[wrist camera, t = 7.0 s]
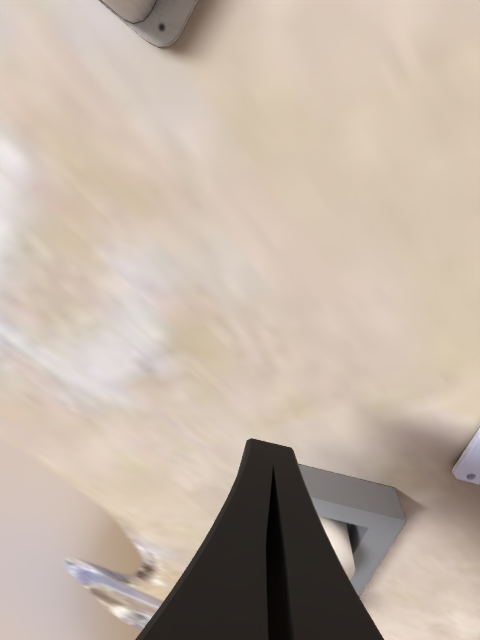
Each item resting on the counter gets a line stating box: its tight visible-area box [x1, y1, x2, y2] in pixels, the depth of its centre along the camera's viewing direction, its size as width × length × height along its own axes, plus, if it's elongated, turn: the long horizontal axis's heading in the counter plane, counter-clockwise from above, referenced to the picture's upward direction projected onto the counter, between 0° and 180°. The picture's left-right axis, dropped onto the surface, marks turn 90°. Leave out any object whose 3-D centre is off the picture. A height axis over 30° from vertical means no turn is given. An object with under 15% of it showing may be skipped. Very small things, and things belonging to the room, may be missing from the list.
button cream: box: [319, 516, 355, 580], centre depth 22 cm, size 4×4×3 cm
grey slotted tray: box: [298, 464, 407, 596], centre depth 26 cm, size 9×21×2 cm, turn 168°
